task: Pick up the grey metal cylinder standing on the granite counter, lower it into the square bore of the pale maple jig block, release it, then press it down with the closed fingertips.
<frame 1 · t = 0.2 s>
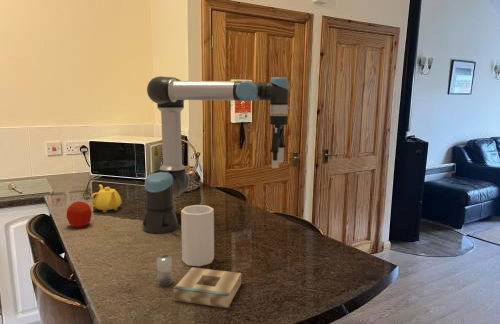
hand: (277, 165, 163), 28 cm above the breakfast bar, fingers open, 13 cm apart
grey metal cylinder: (165, 282, 118), on the breakfast bar
teapot: (106, 210, 192), on the breakfast bar
cup: (198, 260, 135), on the breakfast bar
apple: (80, 226, 168), on the breakfast bar
jig: (208, 291, 113), on the breakfast bar
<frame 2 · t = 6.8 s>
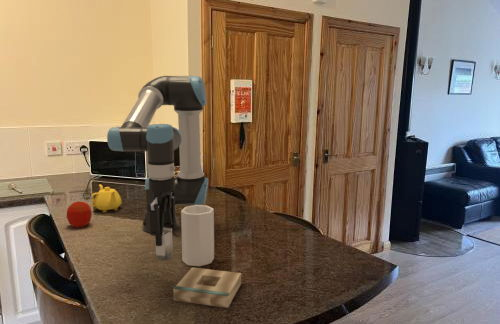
hand: (164, 251, 117), 10 cm above the breakfast bar, fingers closed on grey metal cylinder, 4 cm apart
grey metal cylinder: (164, 257, 117), point 8 cm above the breakfast bar, touching gripper
everything else where it was.
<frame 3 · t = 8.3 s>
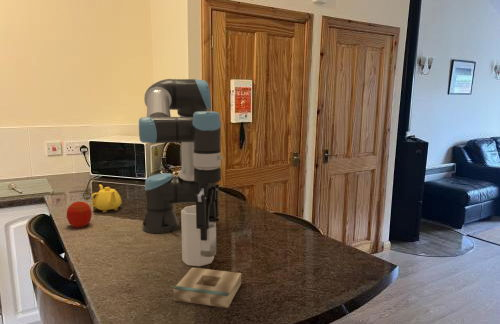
hand: (208, 246, 110), 14 cm above the breakfast bar, fingers closed on grey metal cylinder, 4 cm apart
grey metal cylinder: (208, 253, 111), point 12 cm above the breakfast bar, touching gripper
everything else where it was.
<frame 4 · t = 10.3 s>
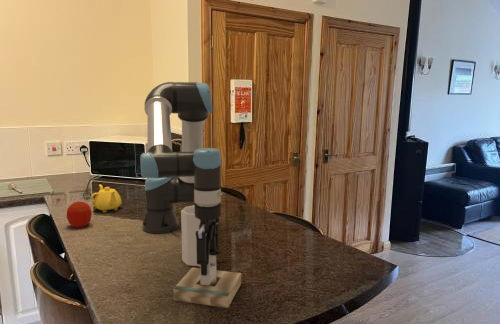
hand: (208, 279, 112), 4 cm above the breakfast bar, fingers closed on grey metal cylinder, 5 cm apart
grey metal cylinder: (208, 292, 113), resting in jig, touching gripper
everything else where it was.
when the fingers open (4 cm above the breakfast bar, at t = 10.4 s): grey metal cylinder stays where it is, resting in jig.
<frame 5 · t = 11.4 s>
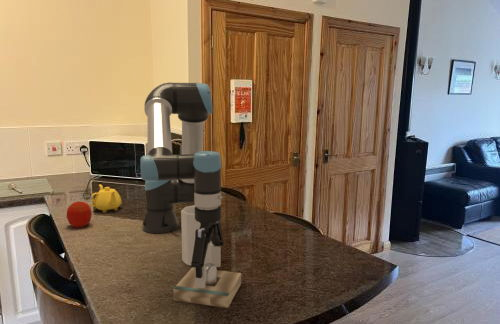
hand: (208, 276, 112), 5 cm above the breakfast bar, fingers open, 13 cm apart
grey metal cylinder: (208, 291, 113), resting in jig
everything else where it was.
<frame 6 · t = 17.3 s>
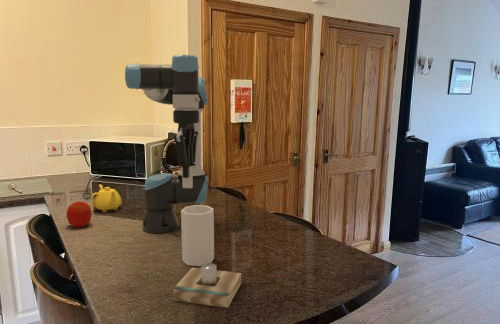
hand: (187, 187, 117), 29 cm above the breakfast bar, fingers closed
nothing on the breakfast bar moved.
at the end: grey metal cylinder 0.1 cm off-centre on the jig, point 0.0 cm above the jig's base; grey metal cylinder tilted 0°; the gripper is holding nothing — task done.
